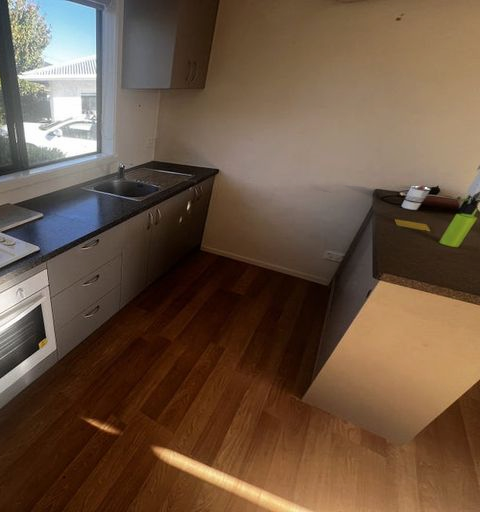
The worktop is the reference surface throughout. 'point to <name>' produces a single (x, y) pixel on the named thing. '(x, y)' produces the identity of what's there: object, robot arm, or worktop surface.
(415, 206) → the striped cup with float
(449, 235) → the soap dispenser
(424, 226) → the cloth
